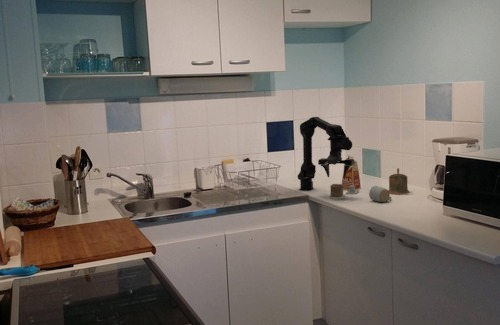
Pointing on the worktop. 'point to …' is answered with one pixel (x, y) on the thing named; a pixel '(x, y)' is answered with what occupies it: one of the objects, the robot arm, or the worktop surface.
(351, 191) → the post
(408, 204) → the worktop surface
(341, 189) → the brown rectangular block
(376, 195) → the ceramic mug
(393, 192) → the rusty brown bell
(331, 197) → the post
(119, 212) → the worktop surface
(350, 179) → the milk carton
